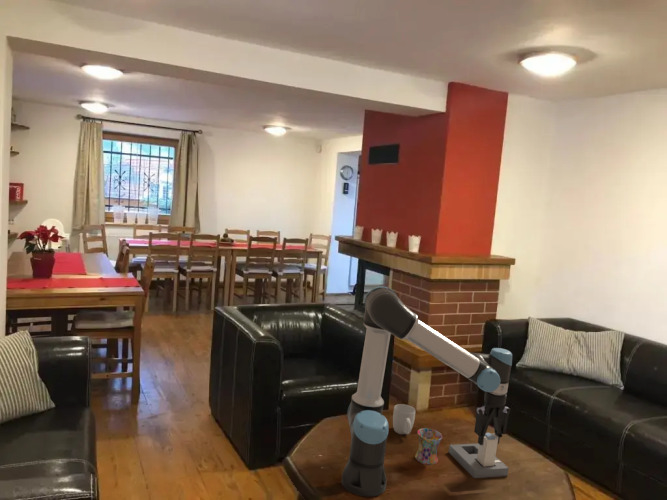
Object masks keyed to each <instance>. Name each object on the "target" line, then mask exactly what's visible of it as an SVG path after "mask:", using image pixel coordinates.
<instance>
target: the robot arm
mask: <svg viewBox="0 0 667 500" xmlns="http://www.w3.org/2000/svg"><path fill="white" fill-rule="evenodd" d="M363 303H364V308H365V310H364V316H363V323H362V324H363V326H364V327H365V328H366V331H365V332H366V333H365V339H364V345H363V350H362V357H361V363H360V370H359V377H358V383H357V388H356V389H357V390H356V392H355V393H354V394H352V395H351V400H350V401H351V402H350V404H349V405H348V408H347V413H346V414H347V417H346V418H347V421H348V424H349V430H350V436H351V438H350V439H351V440H350V449H349V457H348V460H347V462H346V465H345V466H344V469H343V471H342V474H341V480H340V481H341V485H342V486H343V488H344V489H346V491H348V492H349V493H351V494H353V495H357V496H360V497H368V498H370V497H371V498H372V497H377V496H380V495H382V494H383V493H384V492H385V491H386V489H387V476H386V471H385V456H386V449H387V442H388V435H389V429H390V428H389V421H388V419H387V418H386V416H385V415H383V411H384V405H385V401H384V399H383V398H382V396H381V395H382V389H383V385H384V384H383V383H384V377H385V370H386V364H387V358H388V352H389V346H390V340H391V334H392V335H393V336H395V337H396V338H398V339H400V340H407V341H408V342H410V343H412V344H413V345H415V346H416V347H418V348H419V349H421V350H422V351H425V352H426V353H427V354H429V355H431V356H432V357H434V358H435V359H437V360H438V361H440V362H441V363H443V364H444V365H446V366H448V367H449V368H451V369H452V370H454V371H456V372H457V373H459V374H461V375H462V376H463V377H465V378H466V379H468V381H471V382H472V383H474V384H475V385H477V387H478V388H479V389H480V390H481V391H483V392H484V396H483V401H484V403H483V404H482V406H481V407H478V406H477V407H476V408H475V413H476V415H475V423H474V430H473V431H474V434H476V435H477V436H478V438H477V443H478V444H479V448H478V451H479V452H480V453H481V454H482V455H484V451H485V444H486V437H485V434H486V433H487V431H488V427H489V424H490V422H491V421H492V419H493V428H494V429H493V430H494V433H491V434H492V435H493V436H494V437H495V438H496V439H498V443H497V445H500V444H499V443H500V439H501V438H502V437H503V435H506V432H507V427H508V420H509V416H510V413H511V411H512V410H511V408H509V407H508V406H505V405H506V403H507V395H508V394H507V393H508V388H509V382H510V374H511V370H512V369H511V368H512V365H513V353H512V352H511V351H510V350H508V349H505V348H501V347H500V348H499V347H493V348H492V349H490V350H491V351H490V352H489V353H480V352H470V351H467V350H466V349H464V348H463V347H461V346H460V345H458V344H457V343H455V342H454V341H452V340H450V339H449V338H448V337H446V336H444V335H443V334H442V333H440V332H439V331H437V330H435V329H433V328H432V327H431V326H430V325H428V324H426V323H424V322H423V321H421V320H420V319H419V318H418V314H417V313H415V312H413V311H412V310H411V309H409V307H408V306H406V305H405V304H404V302H402V300H401V299H400V298H399V296H398V295H397V293H396V292H395V291H394V290H393V289H391V288H390V287H386V286H382V285H381V286H375V287H373V288H371V289H370V290H369V291H368V292H367V293H366V295H365V297H364V302H363Z"/></svg>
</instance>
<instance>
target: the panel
mask: <svg viewBox="0 0 667 500" xmlns="http://www.w3.org/2000/svg"><path fill="white" fill-rule="evenodd" d="M478 448H479V444H478V442H477V443H461V444H449V448H448V453H449V455H451V456H452V457H453V458H454V460H456V461H457V463H458V464H459V465H460V466H461V467H463V469H465V471H466V472H467V473H469V475H470V476H471V477H472V478H473V479H482V478H496V477H497V478H499V477H508V474H509V470H510V469H509V468H510V467H508V466H507V465H506V464H505V463H504V462H503V461H502V460H500V459H499V458H498V457H497V456H495V463H494V466H483V465H482V464H480V463H479V462H478V461H477V456H478Z"/></svg>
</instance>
